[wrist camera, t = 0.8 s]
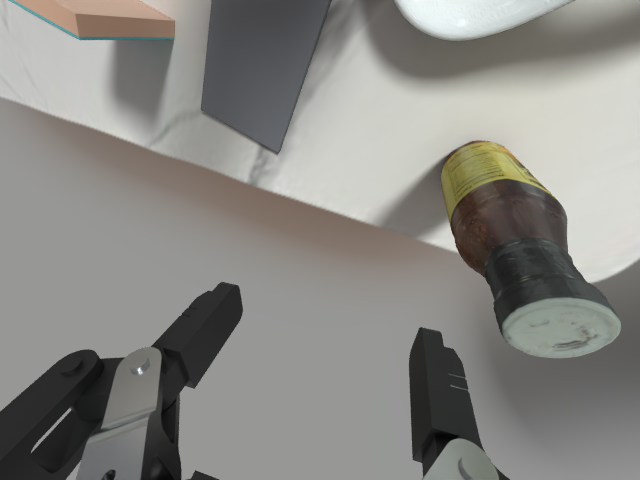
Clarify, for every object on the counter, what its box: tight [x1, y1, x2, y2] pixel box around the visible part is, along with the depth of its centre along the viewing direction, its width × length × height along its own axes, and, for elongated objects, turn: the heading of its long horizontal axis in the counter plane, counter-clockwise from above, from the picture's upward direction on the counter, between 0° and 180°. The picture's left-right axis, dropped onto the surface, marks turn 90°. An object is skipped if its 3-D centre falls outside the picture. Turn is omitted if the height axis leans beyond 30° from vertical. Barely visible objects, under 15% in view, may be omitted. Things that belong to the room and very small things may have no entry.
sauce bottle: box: [441, 141, 621, 358], centre depth 19 cm, size 6×6×20 cm
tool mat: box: [201, 0, 331, 153], centre depth 24 cm, size 18×10×1 cm, turn 155°
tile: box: [9, 0, 175, 40], centre depth 22 cm, size 2×6×10 cm, turn 65°
